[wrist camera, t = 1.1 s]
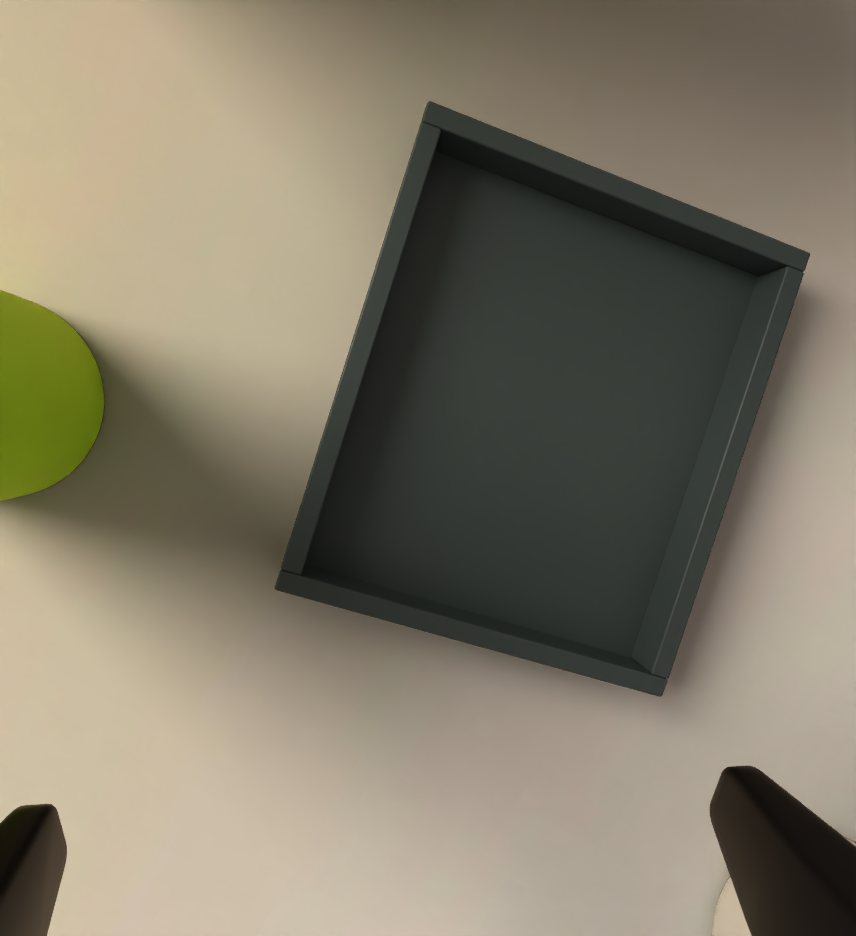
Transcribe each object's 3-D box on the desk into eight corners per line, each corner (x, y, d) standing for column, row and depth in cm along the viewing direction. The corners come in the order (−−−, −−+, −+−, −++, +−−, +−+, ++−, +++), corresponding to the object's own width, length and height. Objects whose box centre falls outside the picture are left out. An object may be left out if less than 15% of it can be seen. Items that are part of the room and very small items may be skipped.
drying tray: (632, 672, 22) (662, 698, 20) (280, 572, 20) (273, 590, 18) (766, 268, 22) (811, 252, 20) (419, 132, 20) (428, 99, 18)
